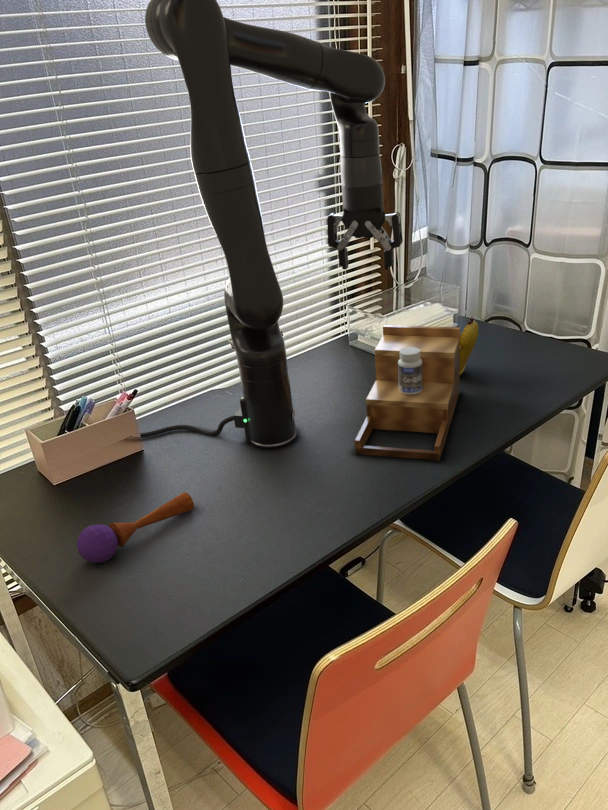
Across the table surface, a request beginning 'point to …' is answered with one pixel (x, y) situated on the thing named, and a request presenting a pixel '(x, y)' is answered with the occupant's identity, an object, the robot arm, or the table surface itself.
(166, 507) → the kendama
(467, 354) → the banana bunch
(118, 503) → the table surface
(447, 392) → the stepped rack
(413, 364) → the pill bottle
